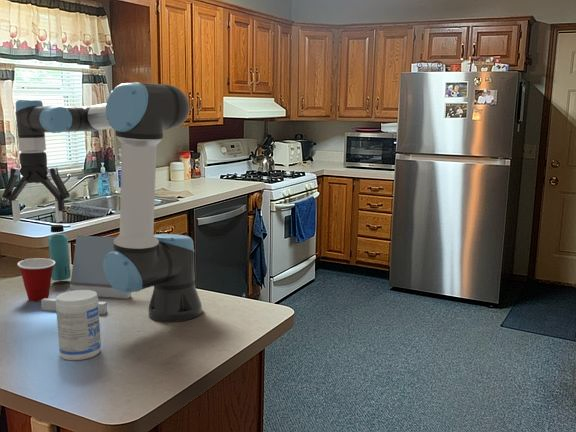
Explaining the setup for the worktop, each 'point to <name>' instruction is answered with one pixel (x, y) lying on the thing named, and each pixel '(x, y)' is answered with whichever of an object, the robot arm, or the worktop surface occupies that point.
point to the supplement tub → (78, 324)
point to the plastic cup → (36, 277)
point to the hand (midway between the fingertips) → (38, 221)
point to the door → (91, 260)
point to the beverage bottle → (59, 254)
